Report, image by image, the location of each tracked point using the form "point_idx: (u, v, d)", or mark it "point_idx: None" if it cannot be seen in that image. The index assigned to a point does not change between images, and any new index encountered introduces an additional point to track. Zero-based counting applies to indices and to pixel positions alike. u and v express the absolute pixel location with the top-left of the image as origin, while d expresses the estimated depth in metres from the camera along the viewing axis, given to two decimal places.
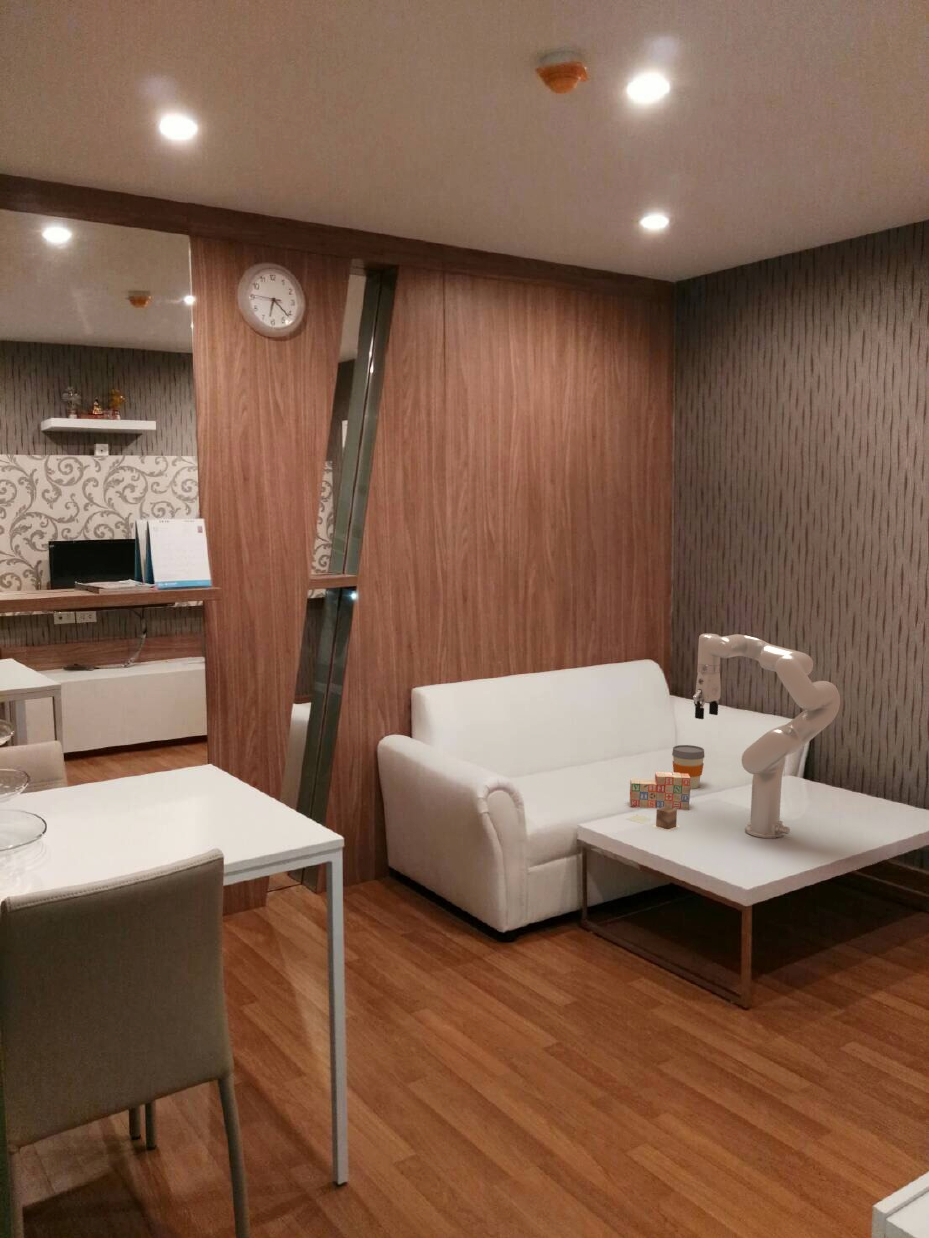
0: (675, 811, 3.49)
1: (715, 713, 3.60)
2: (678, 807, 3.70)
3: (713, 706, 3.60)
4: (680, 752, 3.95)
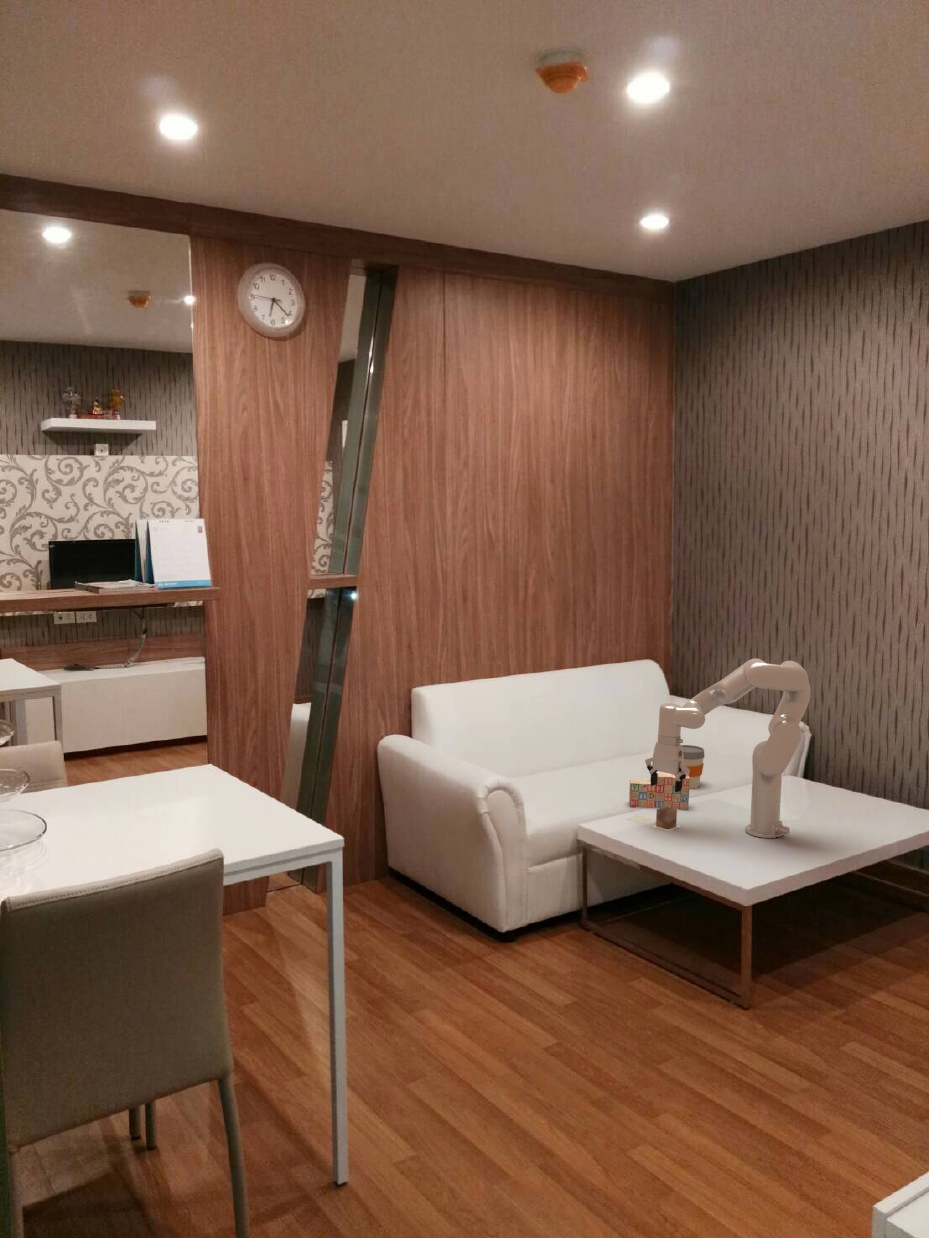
0: (675, 811, 3.49)
1: (656, 783, 3.52)
2: (677, 807, 3.70)
3: (655, 776, 3.51)
4: None
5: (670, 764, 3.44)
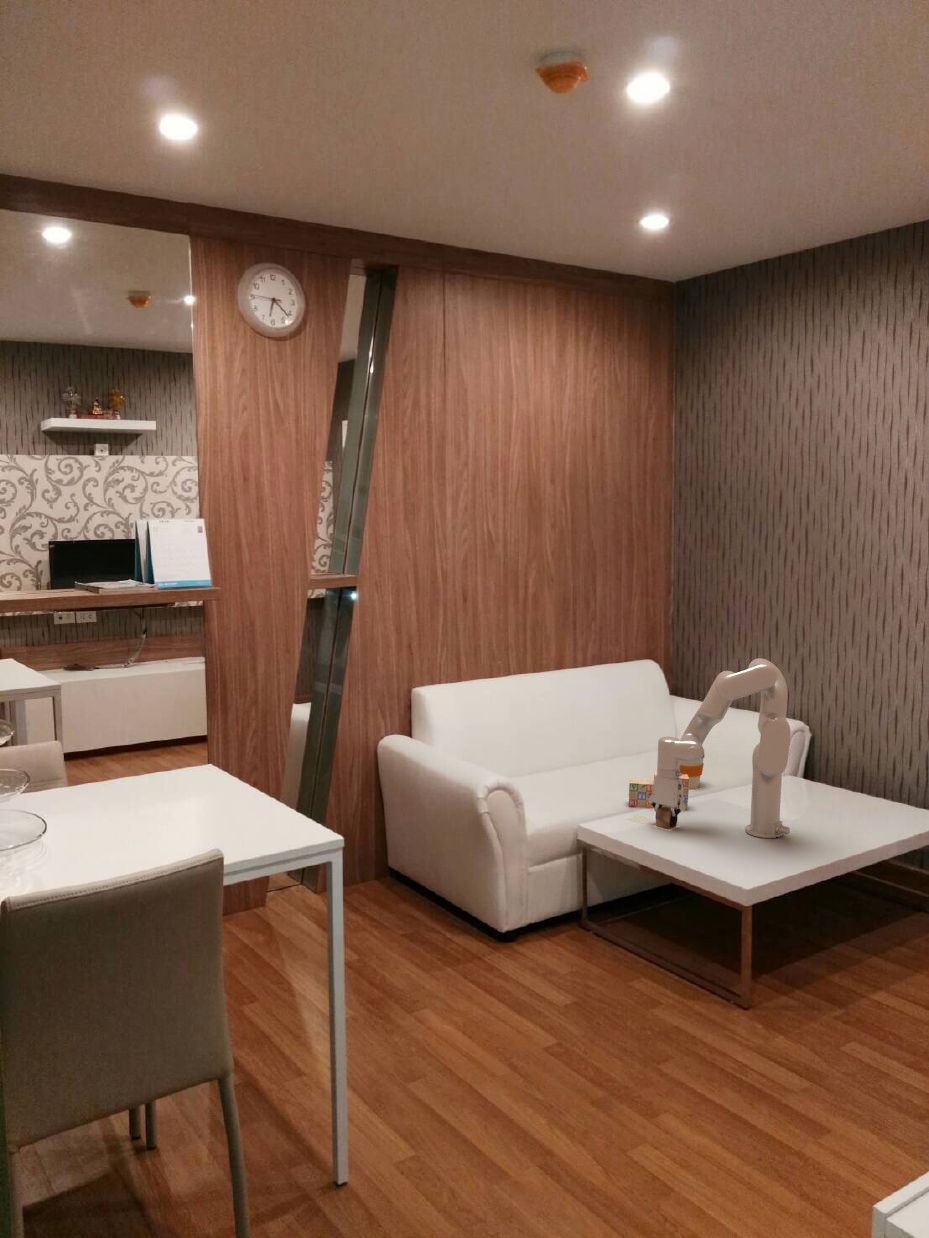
0: None
1: None
2: None
3: None
4: None
5: (670, 797, 3.45)
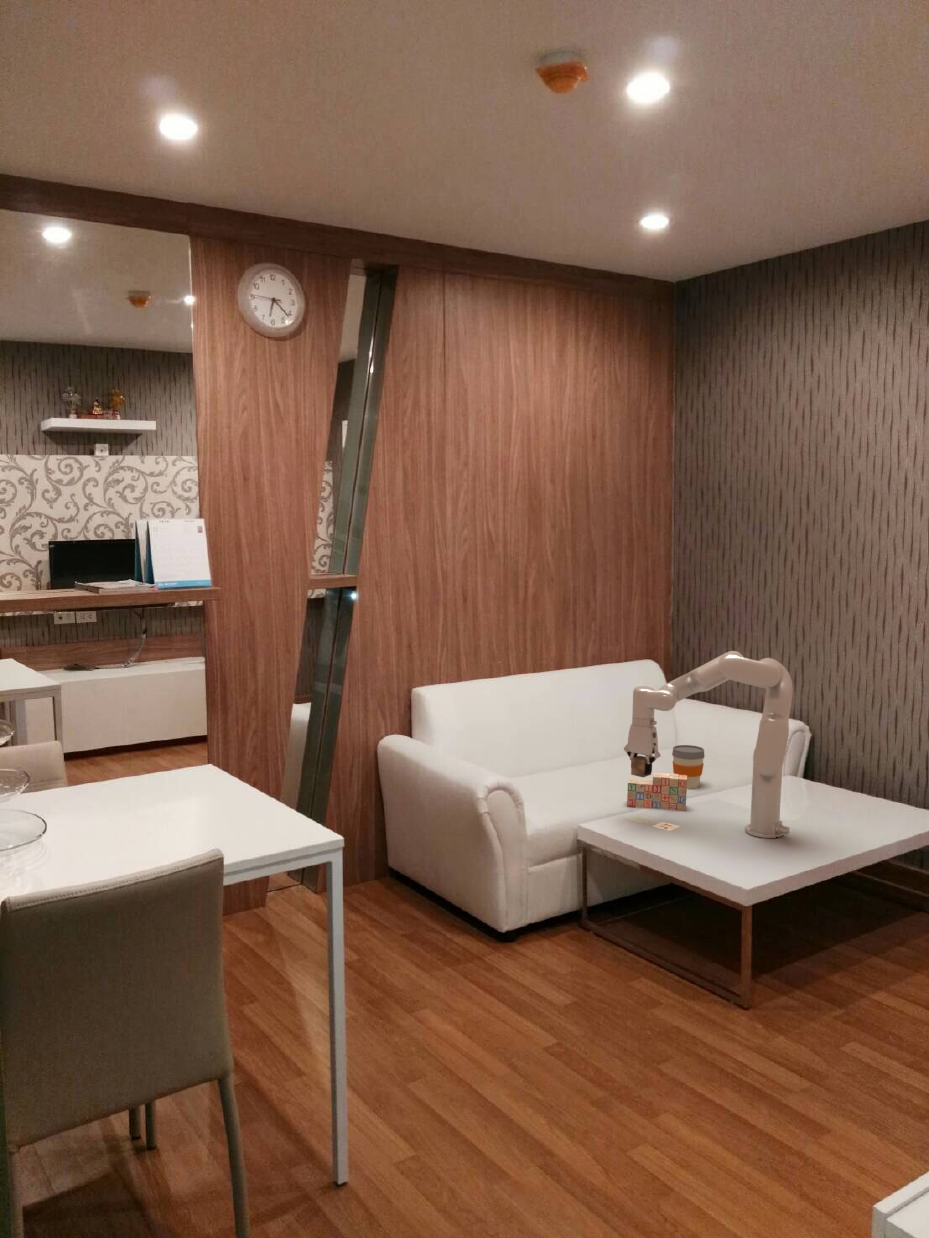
0: None
1: None
2: (674, 808, 3.69)
3: None
4: (680, 752, 3.95)
5: (644, 745, 3.51)
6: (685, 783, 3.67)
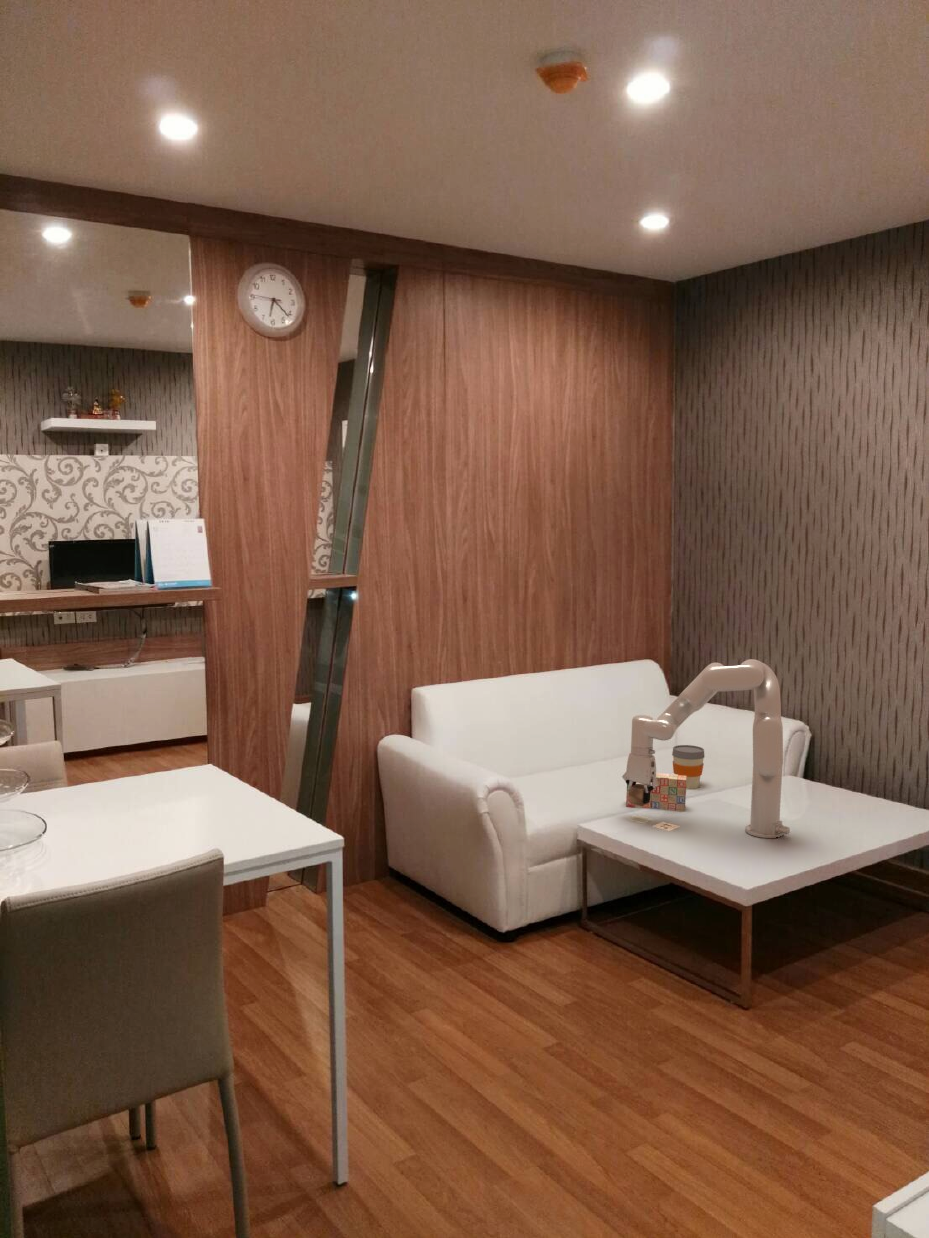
0: None
1: None
2: (673, 809, 3.68)
3: None
4: (680, 752, 3.95)
5: (643, 774, 3.52)
6: (684, 783, 3.66)
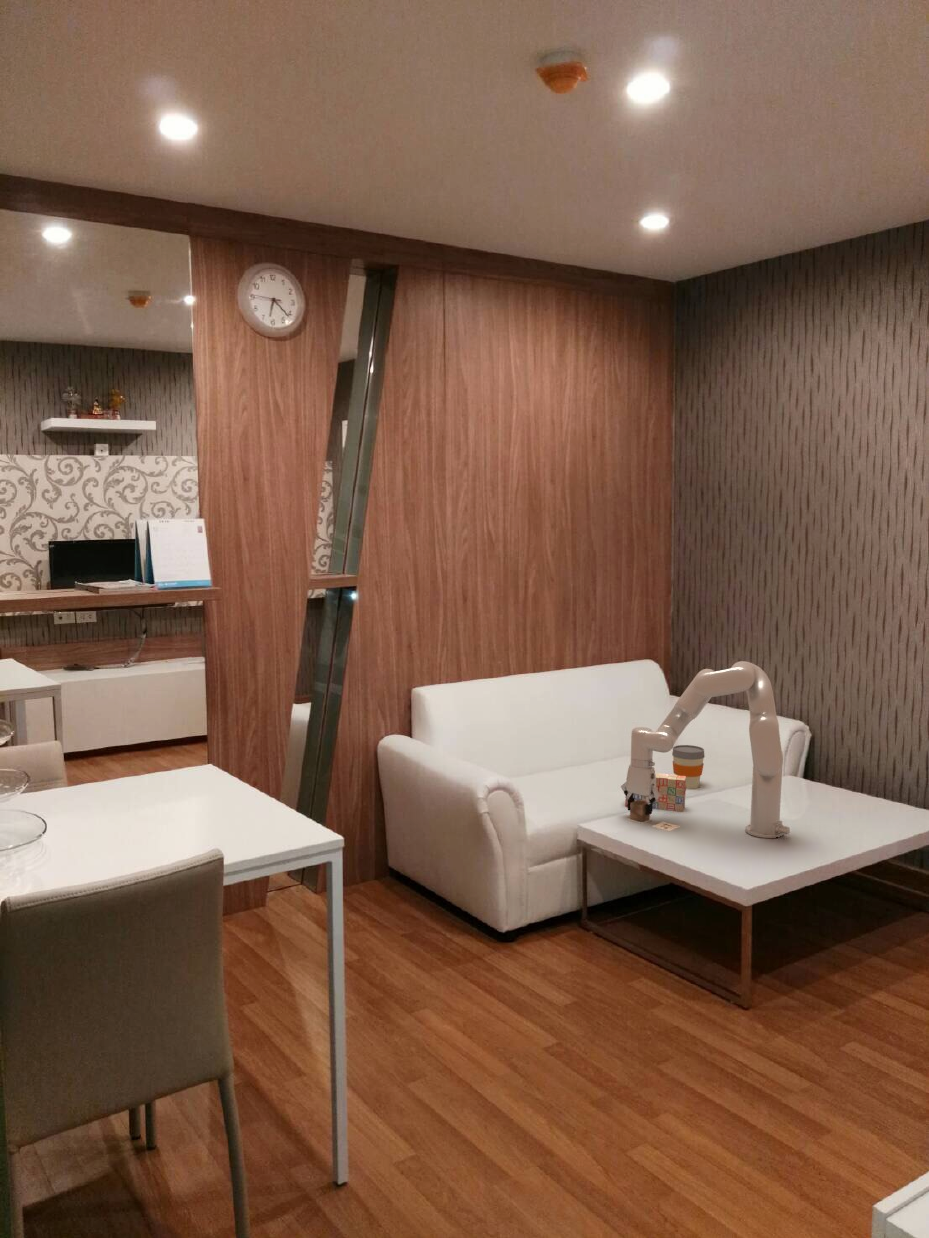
0: None
1: None
2: (672, 809, 3.68)
3: (632, 801, 3.59)
4: (680, 752, 3.95)
5: (643, 786, 3.53)
6: (683, 784, 3.66)
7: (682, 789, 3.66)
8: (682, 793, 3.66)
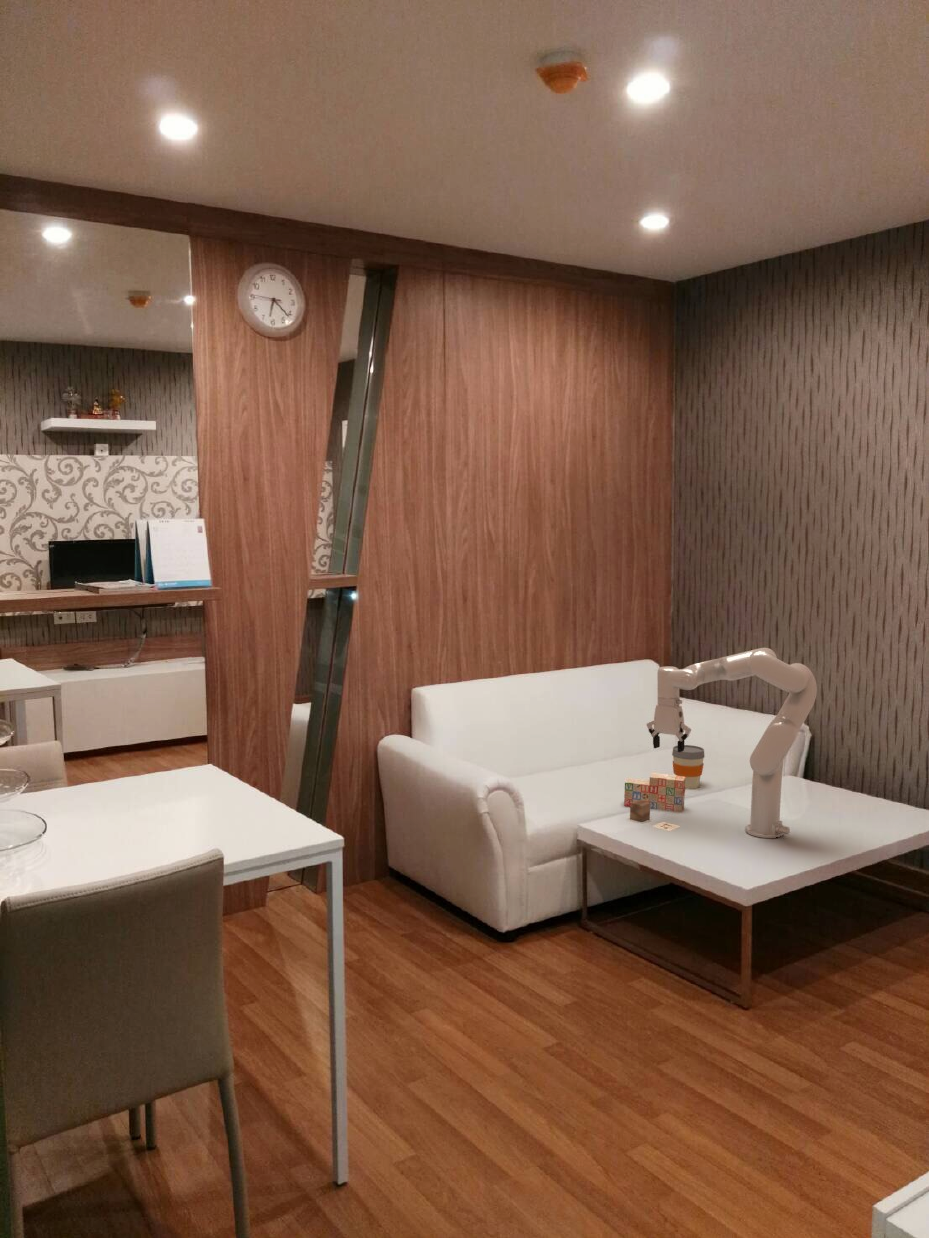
0: (648, 804, 3.56)
1: (659, 745, 3.60)
2: (671, 809, 3.67)
3: (657, 739, 3.59)
4: (680, 752, 3.95)
5: (671, 725, 3.52)
6: (681, 784, 3.65)
7: (681, 789, 3.65)
8: (681, 793, 3.66)
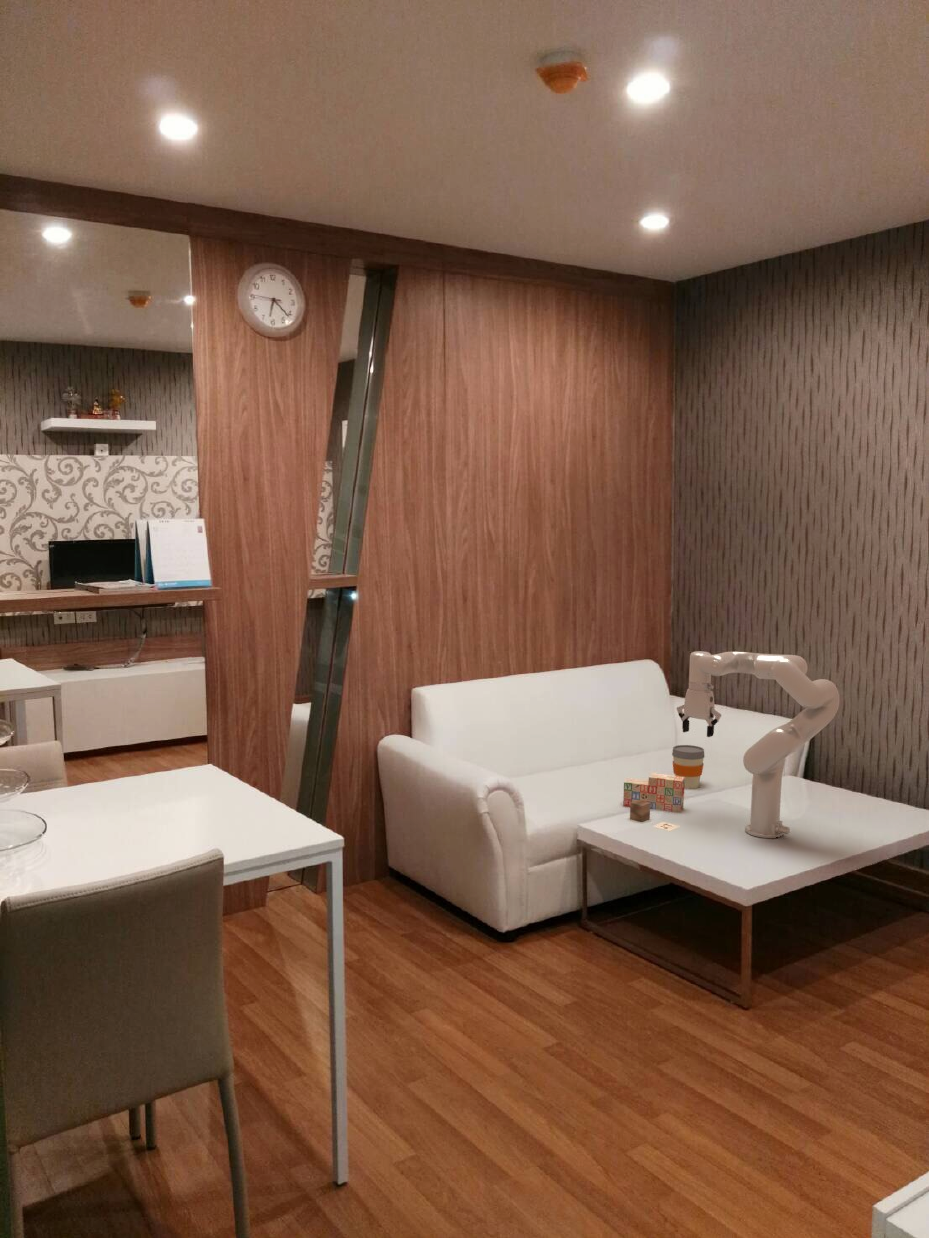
0: (648, 804, 3.56)
1: (688, 729, 3.62)
2: (670, 810, 3.67)
3: (687, 723, 3.61)
4: (679, 752, 3.95)
5: (702, 710, 3.54)
6: (680, 785, 3.65)
7: (679, 790, 3.65)
8: (679, 794, 3.65)
